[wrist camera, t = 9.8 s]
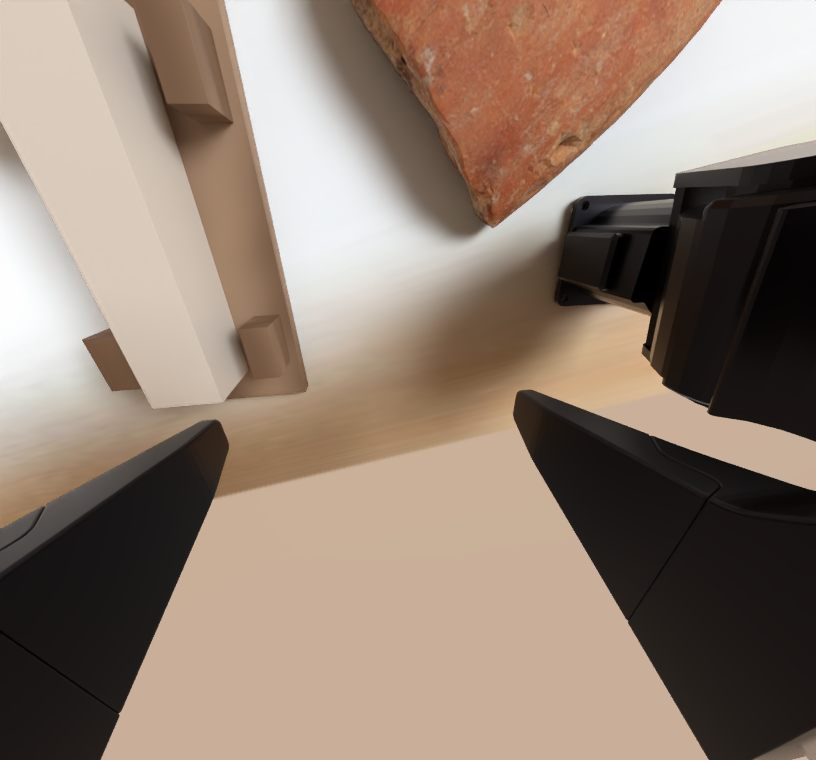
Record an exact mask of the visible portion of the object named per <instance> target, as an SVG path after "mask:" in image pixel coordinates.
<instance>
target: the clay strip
mask: <svg viewBox="0 0 816 760" xmlns="http://www.w3.org/2000/svg"><path fill="white" fill-rule="evenodd" d="M0 121H1V123H2V125H3V127H4V129H5V131H6V132H7V134H8V136H9V138H10V140H11V142H12V144H13V146H14V148H15V150H16V151H17V153H18V155H19V157H20V159H21V161H22V163H23V165H24V167H25V168H26V170H27V172H28V174H29V176H30V178H31V180H32V182H33V184H34V186H35V187H36V189H37V191H38V193H39V195H40V197H41V199H42V201H43V203H44V204H45V206H46V208H47V210H48V212H49V214H50V216H51V218H52V220H53V222H54V223H55V225H56V227H57V229H58V231H59V233H60V235H61V237H62V239H63V240H64V242H65V244H66V246H67V248H68V250H69V252H70V254H71V256H72V258H73V259H74V261H75V263H76V265H77V267H78V269H79V271H80V273H81V275H82V277H83V278H84V280H85V282H86V284H87V286H88V288H89V290H90V292H91V294H92V295H93V297H94V299H95V301H96V303H97V305H98V307H99V309H100V311H101V313H102V314H103V316H104V318H105V320H106V322H107V324H108V326H109V328H110V330H111V331H112V333H113V335H114V337H115V339H116V341H117V343H118V345H119V347H120V349H121V350H122V352H123V354H124V356H125V358H126V360H127V362H128V364H129V366H130V367H131V369H132V371H133V373H134V375H135V377H136V379H137V381H138V383H139V385H140V386H141V388H142V390H143V392H144V394H145V396H146V398H147V400H148V402H149V403H150V405H151V407H152V409H157V408H168V407H180V406H191V405H202V404H214V403H223V402H224V400H225V399H226V398H227V397H228V395H229V394H230V393H231V392H232V390H233V389H234V388H235V387H236V385H237V384H238V383H239V382H240V380H241V379H242V378H243V377H244V375H245V374H246V373H247V372H248V366H247V363H246V360H245V357H244V354H243V351H242V348H241V344H240V341H239V338H238V335H237V332H236V329H235V326H234V322H233V319H232V316H231V313H230V310H229V307H228V304H227V300H226V297H225V294H224V291H223V288H222V285H221V282H220V278H219V275H218V272H217V269H216V266H215V263H214V260H213V256H212V253H211V250H210V247H209V244H208V241H207V238H206V234H205V231H204V228H203V225H202V222H201V219H200V216H199V212H198V209H197V206H196V203H195V200H194V197H193V194H192V190H191V187H190V184H189V181H188V178H187V175H186V172H185V169H184V165H183V162H182V159H181V156H180V153H179V150H178V147H177V143H176V140H175V137H174V134H173V131H172V128H171V125H170V121H169V118H168V115H167V112H166V109H165V106H164V103H163V99H162V96H161V93H160V90H159V87H158V84H157V81H156V77H155V74H154V71H153V68H152V65H151V62H150V59H149V55H148V52H147V49H146V46H145V43H144V40H143V37H142V33H141V30H140V27H139V24H138V21H137V18H136V15H135V11H134V9H133V8H132V7H131V6H130V5H129V4H128V3H127V2H126V1H124V0H0Z"/></svg>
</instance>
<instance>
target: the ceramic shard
mask: <svg viewBox="0 0 816 760" xmlns="http://www.w3.org/2000/svg"><path fill="white" fill-rule="evenodd" d="M721 1H722V0H352V3H353V6H354V8H355V11H356V12H357V14H358V16H359V17H360V19H361V21H362V22H363V23H364V25H365V27H366V28H367V29H368V30H369V32H370V33H371V35H372V36H373V38H374V40H375V41H376V42H377V43H378V45H379V46H380V48H381V49H382V50H383V52H384V53H385V54H386V56H387V57H388V58H389V59H390V61H391V62H392V64H393V66H394V68H395V70H396V72H397V73H398V74H399V75H400V76H401V77H402V78H403V79H404V81H405V82H406V83H407V85H408V86H409V88H410V91H411V93H413V94H414V95H416V96H417V98H418V100H419V101H420V102H421V103H422V105H423V106H424V107H425V109H426V110H427V111H428V113H429V114H430V115H431V117H432V118H433V120H434V121H435V123H436V125H437V126H438V131H439V136H440V138H441V141H442V143H443V145H444V148H445V150H446V152H447V154H448V155H449V157H450V158H451V160H452V162H453V164H454V166H455V167H456V168H457V169H458V171H459V173H460V175H461V176H462V177H463V179H464V180H465V181H466V183H467V188H468V192H469V195H470V198H471V201H472V204H473V208H474V211H475V213H476V215H477V216H478V217H479V218H480V219H481V220H482V221H483V222H485V223H486V224H487V225H489V226H491V228H494V227H495V226H497V225H498V224H499V223H501V222H502V221H503V220H504V219H506V218H507V217H508V216H509V215H510V214H512V213H513V212H514V211H515V210H517V209H518V208H519V207H521V206H522V205H523V204H524V203H526V202H527V201H528V200H529V199H531V198H532V197H533V196H534V195H536V194H537V193H538V192H539V191H540V190H541V189H542V188H544V187H545V186H546V185H547V184H548V183H549V182H550V181H551V180H553V179H554V178H555V177H556V176H557V175H559V174H560V173H561V172H562V171H563V170H564V169H565V168H566V167H567V166H568V165H569V164H570V163H572V162H573V161H574V160H575V159H576V158H577V157H579V156H580V155H581V154H582V153H583V152H584V151H585V150H586V149H587V148H588V147H590V146H591V144H592V143H593V142H594V141H595V140H596V139H597V138H598V137H599V136H601V135H602V134H603V133H604V132H605V131H606V130H607V129H608V128H609V127H610V126H611V125H613V124H614V123H615V122H616V121H617V120H618V119H619V118H620V117H621V116H622V115H623V114H624V113H625V112H626V111H627V109H628V108H629V107H630V106H631V105H632V104H633V103H634V102H635V101H636V100H637V99H638V98H639V97H640V96H641V95H642V94H643V93H644V91H645V90H646V89H647V88H648V87H649V86H650V84H651V83H652V82H653V81H654V80H655V79H656V78H657V77H658V76H659V75H660V74H661V73H662V72H663V71H664V70H665V69H666V68H667V67H668V66H669V65H670V64H671V62H672V61H673V60H674V59H675V58H676V57H677V56H678V54H679V53H680V52H681V51H682V50H683V48H684V47H685V46H686V45H687V44H688V42H689V41H690V40H691V39H692V38H693V37H694V35H695V34H696V33H697V32H698V31H699V30H700V29H701V27H702V26H703V25H704V23H705V22H706V21H707V19H708V18H709V17H710V15H711V14H712V13H713V11H714V10H715V9H716V7H717V6H718V5H719V4H720V2H721Z"/></svg>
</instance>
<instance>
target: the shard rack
mask: <svg viewBox="0 0 816 760" xmlns="http://www.w3.org/2000/svg"><path fill="white" fill-rule="evenodd" d="M124 1H126V2H127V3H128V4H129V5H130V6H131V7H132V8H133V9H134V11H135V15H136V18H137V21H138V24H139V27H140V30H141V33H142V37H143V40H144V43H145V46H146V49H147V52H148V55H149V59H150V62H151V65H152V68H153V71H154V74H155V77H156V81H157V84H158V87H159V90H160V93H161V96H162V99H163V103H164V106H165V109H166V112H167V115H168V118H169V121H170V125H171V128H172V131H173V134H174V137H175V140H176V143H177V147H178V150H179V153H180V156H181V159H182V162H183V165H184V169H185V172H186V175H187V178H188V181H189V184H190V187H191V190H192V194H193V197H194V200H195V203H196V206H197V209H198V212H199V216H200V219H201V222H202V225H203V228H204V231H205V234H206V238H207V241H208V244H209V247H210V250H211V253H212V256H213V260H214V263H215V266H216V269H217V272H218V275H219V278H220V282H221V285H222V288H223V291H224V294H225V297H226V300H227V304H228V307H229V310H230V313H231V316H232V319H233V322H234V326H235V329H236V332H237V335H238V338H239V341H240V344H241V348H242V351H243V354H244V357H245V360H246V363H247V366H248V372H247V373H246V374H245V375H244V377H243V378H242V379H241V380H240V382H239V383H238V384H237V385H236V387H235V388H234V389H233V390H232V392H231V393H230V394H229V395H228V397H227V398H226V399H231V398H242V397H253V396H265V395H276V394H288V393H299V392H306V390H307V387H308V382H307V378H306V373H305V368H304V364H303V359H302V355H301V350H300V345H299V341H298V336H297V332H296V327H295V323H294V318H293V313H292V309H291V304H290V300H289V295H288V291H287V286H286V281H285V277H284V272H283V268H282V263H281V259H280V254H279V249H278V245H277V240H276V236H275V231H274V227H273V222H272V217H271V213H270V208H269V204H268V199H267V194H266V190H265V185H264V181H263V176H262V172H261V167H260V162H259V158H258V153H257V149H256V144H255V140H254V135H253V130H252V126H251V121H250V117H249V112H248V108H247V103H246V98H245V94H244V89H243V85H242V80H241V75H240V71H239V66H238V62H237V57H236V53H235V48H234V43H233V39H232V34H231V30H230V25H229V21H228V16H227V11H226V7H225V2H224V0H124ZM82 341H83V342H84V344H85V346H86V347H87V349H88V351H89V353H90V354H91V356H92V358H93V359H94V361H95V363H96V364H97V366H98V368H99V370H100V371H101V373H102V375H103V376H104V378H105V380H106V382H107V383H108V385H109V387H110V388H111V390H112V391H120V390H132V389H142V388H141V386H140V385H139V383H138V381H137V379H136V377H135V375H134V373H133V371H132V369H131V367H130V366H129V364H128V362H127V360H126V358H125V356H124V354H123V352H122V350H121V349H120V347H119V345H118V343H117V341H116V339H115V337H114V335H113V333H112V331H111V330H110V328H109V329H107V330H104V331H102V332H100V333H97V334H95V335H92V336H90V337H87V338H85V339H82Z"/></svg>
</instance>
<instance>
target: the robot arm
mask: <svg viewBox="0 0 816 760" xmlns="http://www.w3.org/2000/svg"><path fill="white" fill-rule="evenodd" d="M673 188H676V192H675V194H641V195H604V196H583V197H580V198H578V199H577V200H576V202H575V203H574V206H573V210H572V215H571V220H570V225H569V230H568V235H567V236H566V239H565V244H564V249H563V254H562V259H561V264H560V269H559V274H558V276H559V279H558V284H557V289H556V294H555V303H556V304H558V305H560V306H574V305H589V304H605V303H611V304H614V305H617V306H620V307H623V308H627V309H630V310H633V311H636V312H639V313H642V314H645V315H648V316H651V319H650V324H649V329H648V334H647V340H646V343H645V344H643V348H642V354H643V355H644V356H645V358H646V359H647V360H648V361H649V362H650V363H651V366H652V367H653V368H654V369H655V370H656V372H657V373H658V374H659V375H660V376H662V377H663V381H662V384H663V385H664V386H665V387H667V388H668V389H670V390H672V391H674V392H676V393H677V394H680V395H681V396H683V397H686V398H688V399H689V400H691V401H693V402H695V403H697V404H700V405H702V406H705V407H707V408H708V411H707V412H708V413H709V414H710V415H713V416H718V417H724V418H730V419H737V420H743V421H749V422H753V423H757V424H761V425H765V426H769V427H773V428H777V429H781V430H784V431H787V432H790V433H793V434H796V435H799V436H802V437H804V438H807V439H810V440H813V441H815V442H816V140H815V141H810V142H805V143H800V144H795V145H790V146H785V147H780V148H776V149H772V150H768V151H764V152H760V153H756V154H752V155H748V156H744V157H740V158H736V159H732V160H728V161H724V162H720V163H716V164H712V165H708V166H704V167H700V168H696V169H692V170H688V171H684V172H680V173H676V176H675V181H674V186H673ZM583 202H584V203H585V207H584V209H583V210H582V209H581V205H582V203H583ZM564 295H565V298H564V300H563V301H561V299H562V297H563V296H564ZM513 416H514V420H515V422H516V425H517V427H518V429H519V431H520V434H521V436H522V438H523V440H524V443H525V445H526V447H527V449H528V452H529V454H530V456H531V458H532V460H533V462H534V463H535V465H536V467H537V469H538V470H539V472H540V474H541V475H542V477H543V479H544V480H545V482H546V484H547V485H548V487H549V489H550V491H551V492H552V494H553V496H554V497H555V499H556V501H557V503H558V504H559V506H560V508H561V509H562V511H563V513H564V514H565V516H566V518H567V519H568V521H569V523H570V525H571V526H572V528H573V530H574V531H575V533H576V535H577V536H578V538H579V540H580V542H581V543H582V545H583V547H584V548H585V550H586V552H587V554H588V555H589V557H590V558H591V560H592V562H593V563H594V565H595V567H596V569H597V570H598V572H599V574H600V576H601V577H602V579H603V581H604V582H605V584H606V586H607V587H608V589H609V591H610V593H611V594H612V596H613V598H614V599H615V601H616V603H617V604H618V606H619V608H620V610H621V611H622V613H623V615H624V616H625V618H626V619H627V620H628V624H629V625H630V627H631V628H632V630H633V632H634V634H635V636H636V637H637V639H638V640H639V642H640V644H641V646H642V647H643V649H644V651H645V652H646V654H647V656H648V657H649V659H650V661H651V662H652V664H653V666H654V668H655V669H656V671H657V673H658V674H659V676H660V678H661V680H662V681H663V683H664V685H665V686H666V688H667V690H668V692H669V693H670V695H671V697H672V698H673V700H674V702H675V703H676V705H677V706H678V708H679V710H680V712H681V714H682V715H683V717H684V718H685V720H686V722H687V724H688V725H689V727H690V729H691V730H692V732H693V734H694V736H695V737H696V739H697V741H698V742H699V744H700V746H701V748H702V749H703V751H704V752H705V754H706V756H707V758H708V759H709V760H791V759H796V758H800V757H804V756H806V757H807V758H808V759H809V760H816V491H813V490H809V489H806V488H802V487H799V486H796V485H793V484H789V483H787V482H784V481H781V480H778V479H774V478H771V477H769V476H766V475H763V474H760V473H757V472H754V471H751V470H748V469H745V468H742V467H739V466H736V465H733V464H730V463H727V462H724V461H721V460H718V459H715V458H712V457H709V456H706V455H703V454H700V453H698V452H695V451H692V450H689V449H686V448H684V447H681V446H678V445H676V444H673V443H670V442H667V441H665V440H662V439H659V438H657V437H654V436H649V435H648V434H646V433H644V432H641V431H638V430H636V429H633V428H631V427H628V426H625V425H622V424H620V423H617V422H615V421H612V420H610V419H607V418H604V417H602V416H599V415H596V414H594V413H591V412H589V411H586V410H583V409H581V408H578V407H575V406H573V405H570V404H568V403H565V402H562V401H560V400H557V399H554V398H552V397H549V396H547V395H544V394H541V393H539V392H536V391H533V390H521V391H518V392H517V394H516V399H515V405H514V411H513ZM228 450H229V443H228V440H227V437H226V435H225V433H224V430H223V428H222V425H221V423H220V422H219V421H218V420H206V421H201V422H199V423H197V424H195V425H193V426H191V427H189V428H187V429H186V430H184V431H182V432H180V433H178V434H176V435H174V436H173V437H171V438H169V439H167V440H165V441H163V442H161V443H160V444H158V445H156V446H154V447H152V448H150V449H148V450H146V451H145V452H143V453H141V454H139V455H137V456H135V457H133V458H132V459H130V460H128V461H126V462H124V463H122V464H120V465H119V466H117V467H115V468H113V469H111V470H109V471H107V472H106V473H104V474H102V475H100V476H98V477H96V478H94V479H93V480H91V481H89V482H87V483H85V484H83V485H81V486H80V487H78V488H76V489H74V490H72V491H70V492H68V493H67V494H65V495H63V496H61V497H59V498H57V499H55V500H53V501H52V502H50V503H48V504H47V505H46V507H40V508H38V509H37V510H35V511H33V512H31V513H29V514H27V515H25V516H24V517H22V518H20V519H18V520H16V521H14V522H12V523H10V524H8V525H7V526H5V527H3V528H1V529H0V760H101V757H102V755H103V753H104V750H105V748H106V746H107V743H108V741H109V739H110V737H111V734H112V732H113V730H114V728H115V725H116V723H117V720H118V718H119V714H118V713H120V712H121V711H122V708H123V706H124V704H125V701H126V699H127V696H128V694H129V692H130V690H131V688H132V685H133V683H134V681H135V678H136V676H137V674H138V671H139V669H140V666H141V665H142V662H143V660H144V658H145V655H146V653H147V650H148V648H149V646H150V644H151V641H152V639H153V637H154V635H155V632H156V630H157V628H158V625H159V623H160V621H161V618H162V616H163V614H164V611H165V609H166V607H167V605H168V602H169V600H170V598H171V595H172V593H173V591H174V588H175V586H176V584H177V581H178V579H179V577H180V575H181V572H182V570H183V568H184V565H185V563H186V561H187V558H188V556H189V554H190V551H191V549H192V547H193V545H194V542H195V540H196V538H197V535H198V533H199V531H200V528H201V526H202V524H203V521H204V519H205V517H206V515H207V512H208V510H209V508H210V505H211V503H212V500H213V498H214V495H215V492H216V489H217V486H218V483H219V479H220V476H221V473H222V470H223V466H224V463H225V460H226V456H227V453H228Z"/></svg>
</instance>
